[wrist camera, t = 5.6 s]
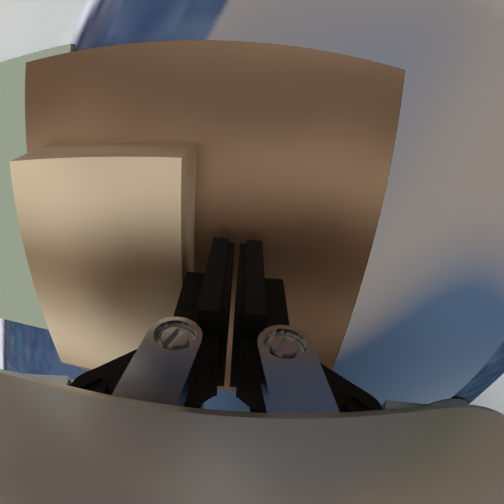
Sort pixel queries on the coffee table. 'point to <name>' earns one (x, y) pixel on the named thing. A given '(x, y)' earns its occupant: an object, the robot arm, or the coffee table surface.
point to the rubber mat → (3, 204)
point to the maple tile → (106, 239)
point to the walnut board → (247, 152)
